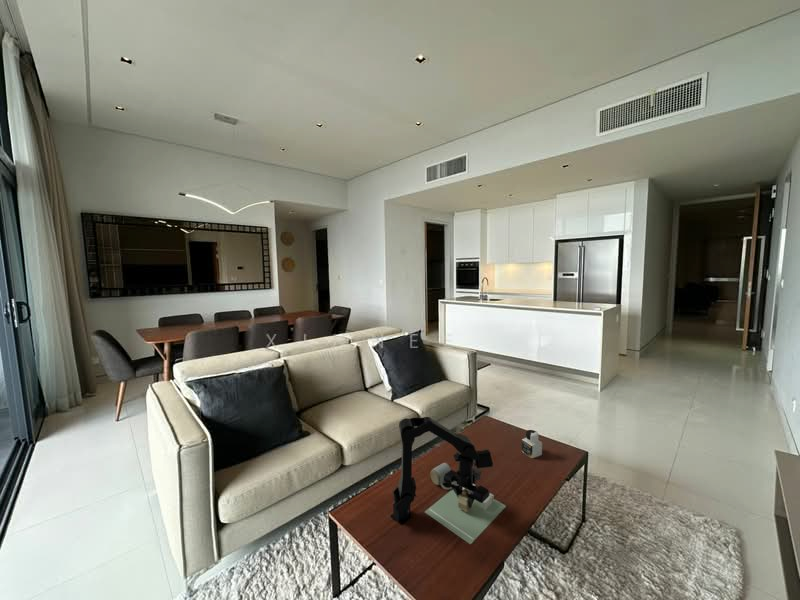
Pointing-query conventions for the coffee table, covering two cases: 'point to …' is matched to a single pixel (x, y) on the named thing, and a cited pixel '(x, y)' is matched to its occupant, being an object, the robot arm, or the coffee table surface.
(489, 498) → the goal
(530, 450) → the medicine bottle
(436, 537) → the coffee table surface
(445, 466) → the ceramic mug
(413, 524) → the coffee table surface
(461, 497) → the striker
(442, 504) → the pitch mat
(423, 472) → the coffee table surface
